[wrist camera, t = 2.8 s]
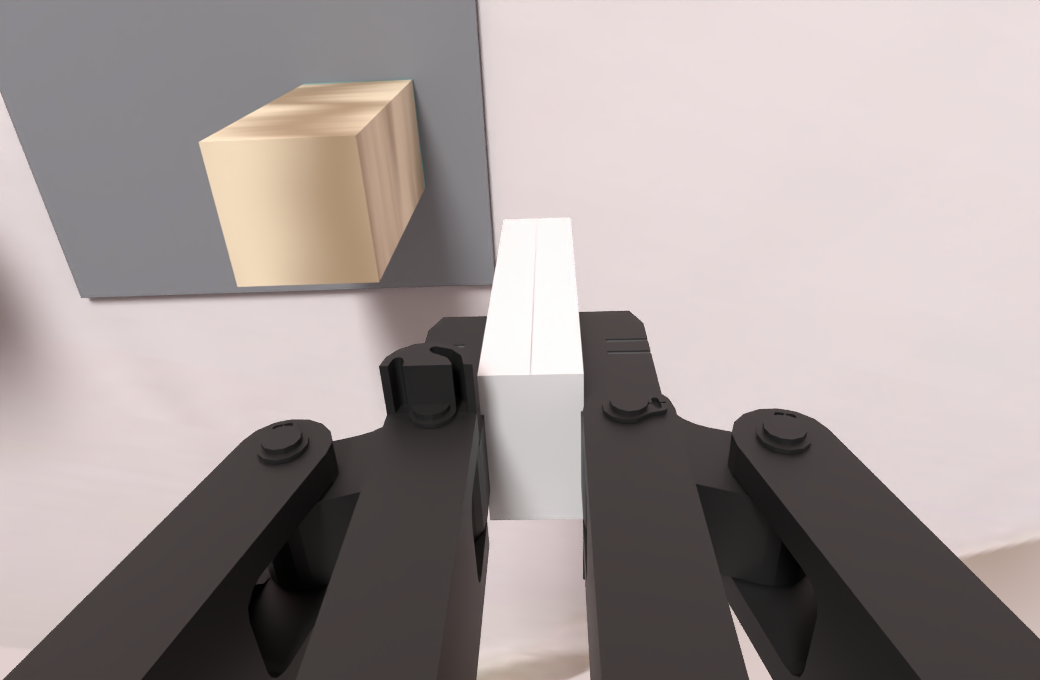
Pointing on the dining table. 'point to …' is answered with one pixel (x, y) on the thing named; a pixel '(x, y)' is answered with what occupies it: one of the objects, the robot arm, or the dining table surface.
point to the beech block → (318, 183)
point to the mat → (215, 105)
